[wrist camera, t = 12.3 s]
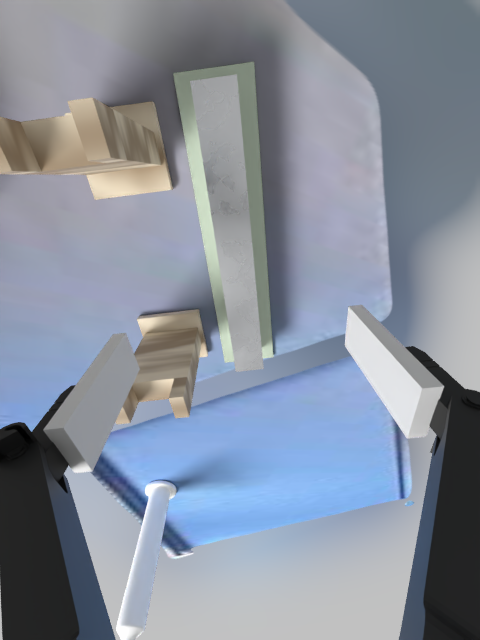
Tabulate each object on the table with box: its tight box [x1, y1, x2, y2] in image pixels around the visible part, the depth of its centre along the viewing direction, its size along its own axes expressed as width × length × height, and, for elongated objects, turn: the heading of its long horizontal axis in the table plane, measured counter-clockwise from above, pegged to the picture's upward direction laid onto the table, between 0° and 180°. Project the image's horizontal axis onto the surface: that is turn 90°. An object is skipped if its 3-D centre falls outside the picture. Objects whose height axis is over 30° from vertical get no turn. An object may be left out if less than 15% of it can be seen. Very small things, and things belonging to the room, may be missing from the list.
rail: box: [190, 74, 263, 372], centre depth 32 cm, size 32×4×5 cm, turn 7°
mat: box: [173, 62, 273, 362], centre depth 34 cm, size 36×8×1 cm, turn 7°
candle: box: [116, 480, 177, 640], centre depth 50 cm, size 7×7×25 cm
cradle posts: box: [0, 98, 208, 424], centre depth 28 cm, size 32×9×15 cm, turn 7°
